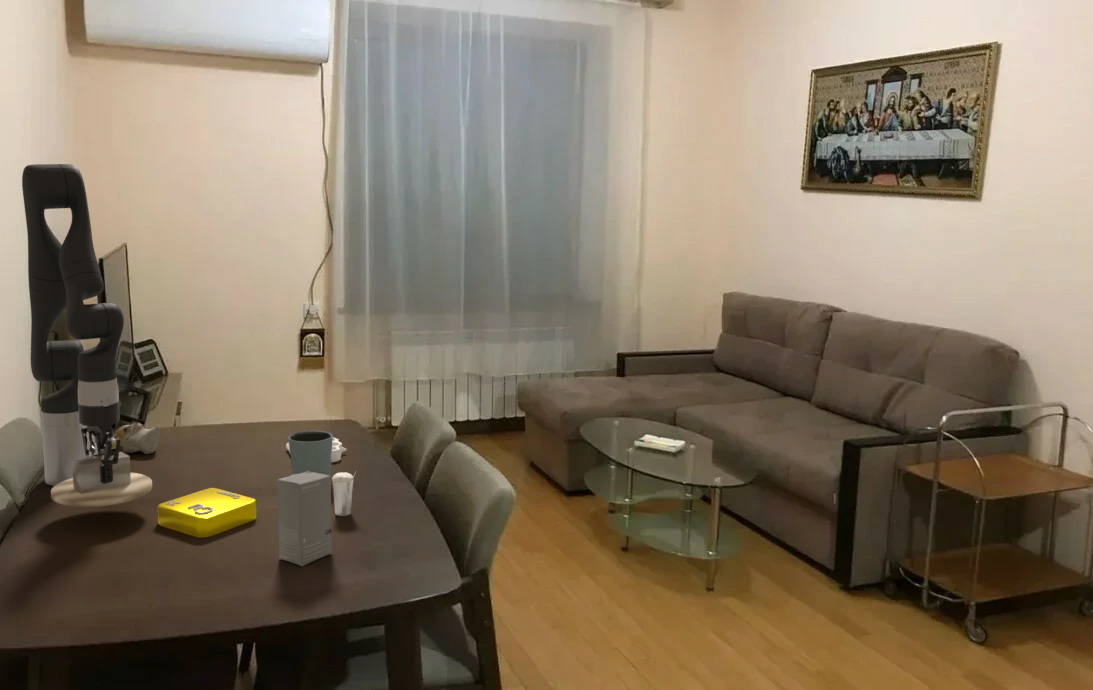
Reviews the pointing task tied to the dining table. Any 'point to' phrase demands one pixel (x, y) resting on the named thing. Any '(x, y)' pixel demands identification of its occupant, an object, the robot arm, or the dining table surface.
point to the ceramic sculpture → (137, 438)
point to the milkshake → (342, 493)
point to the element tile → (206, 512)
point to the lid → (100, 484)
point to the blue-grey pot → (311, 452)
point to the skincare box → (304, 517)
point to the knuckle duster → (336, 450)
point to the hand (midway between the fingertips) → (102, 479)
